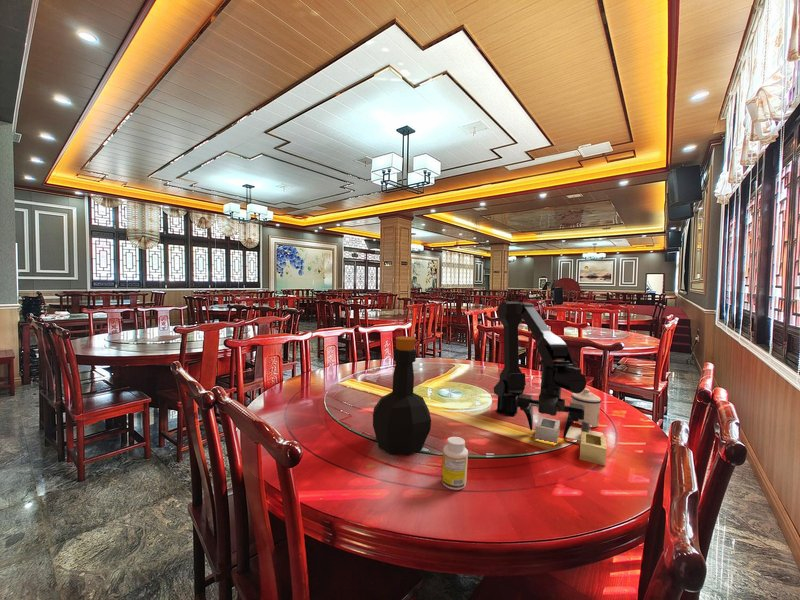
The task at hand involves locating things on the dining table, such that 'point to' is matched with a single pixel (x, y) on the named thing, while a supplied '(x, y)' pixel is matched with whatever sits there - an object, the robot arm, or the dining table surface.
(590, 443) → the link
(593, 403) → the teacup with lid
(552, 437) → the link
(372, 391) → the dining table surface
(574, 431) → the keeper
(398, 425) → the bottle
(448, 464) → the supplement bottle
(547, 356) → the robot arm
